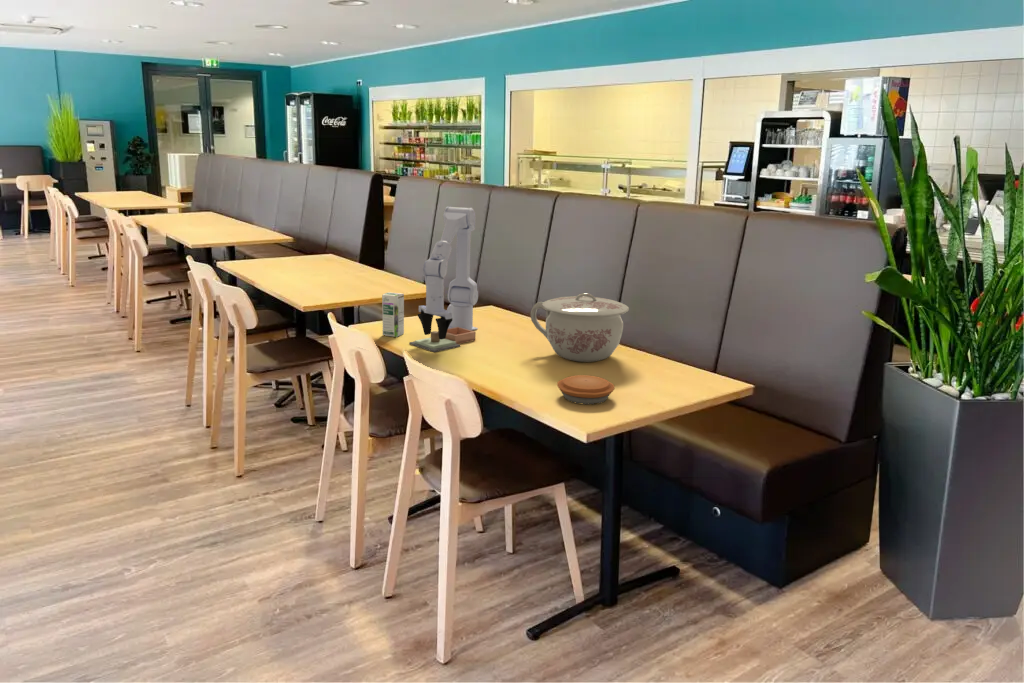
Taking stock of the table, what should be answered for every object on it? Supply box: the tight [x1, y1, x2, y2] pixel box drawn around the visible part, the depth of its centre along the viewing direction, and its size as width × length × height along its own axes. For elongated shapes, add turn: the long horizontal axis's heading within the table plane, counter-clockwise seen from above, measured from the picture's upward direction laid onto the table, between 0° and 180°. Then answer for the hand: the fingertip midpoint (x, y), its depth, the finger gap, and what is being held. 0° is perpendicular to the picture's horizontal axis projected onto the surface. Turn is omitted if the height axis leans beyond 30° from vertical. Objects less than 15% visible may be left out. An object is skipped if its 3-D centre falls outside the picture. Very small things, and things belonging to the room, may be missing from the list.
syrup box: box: [381, 291, 405, 338], centre depth 267 cm, size 6×6×14 cm
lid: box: [414, 330, 456, 349], centre depth 256 cm, size 10×10×4 cm
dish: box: [445, 327, 476, 345], centre depth 264 cm, size 9×9×3 cm
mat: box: [408, 340, 461, 353], centre depth 257 cm, size 13×11×1 cm
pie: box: [556, 374, 615, 405], centre depth 209 cm, size 16×16×5 cm
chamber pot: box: [530, 292, 630, 363], centre depth 246 cm, size 28×28×21 cm
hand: (434, 336), depth 256 cm, fingers open, 7 cm apart
